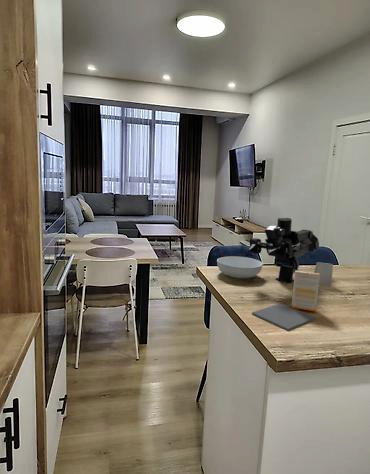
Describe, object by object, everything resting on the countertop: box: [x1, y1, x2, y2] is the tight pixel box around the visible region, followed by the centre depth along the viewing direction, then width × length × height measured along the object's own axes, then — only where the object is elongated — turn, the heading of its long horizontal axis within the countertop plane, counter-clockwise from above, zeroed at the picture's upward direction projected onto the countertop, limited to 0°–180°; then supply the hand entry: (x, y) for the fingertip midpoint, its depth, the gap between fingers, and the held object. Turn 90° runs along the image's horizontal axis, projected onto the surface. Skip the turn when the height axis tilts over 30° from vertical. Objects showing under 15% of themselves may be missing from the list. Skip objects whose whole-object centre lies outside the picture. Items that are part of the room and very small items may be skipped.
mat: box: [251, 303, 317, 331], centre depth 110 cm, size 16×14×1 cm
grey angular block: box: [314, 261, 334, 288], centre depth 147 cm, size 4×7×10 cm, turn 76°
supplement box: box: [291, 270, 320, 312], centre depth 117 cm, size 8×5×13 cm, turn 71°
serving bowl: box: [216, 256, 264, 279], centre depth 154 cm, size 21×21×7 cm
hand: (258, 252), depth 130 cm, fingers open, 9 cm apart
